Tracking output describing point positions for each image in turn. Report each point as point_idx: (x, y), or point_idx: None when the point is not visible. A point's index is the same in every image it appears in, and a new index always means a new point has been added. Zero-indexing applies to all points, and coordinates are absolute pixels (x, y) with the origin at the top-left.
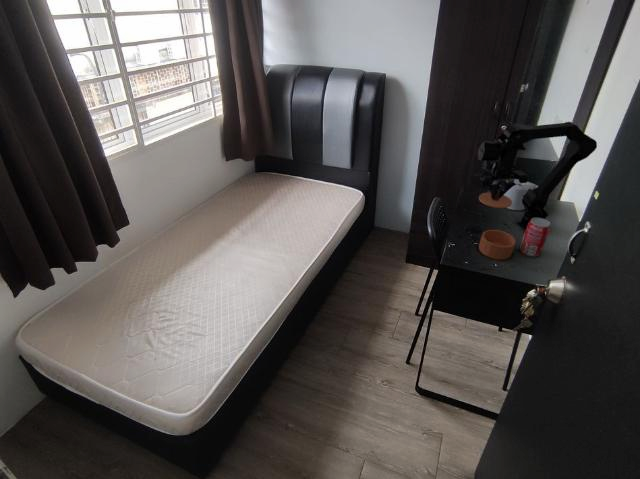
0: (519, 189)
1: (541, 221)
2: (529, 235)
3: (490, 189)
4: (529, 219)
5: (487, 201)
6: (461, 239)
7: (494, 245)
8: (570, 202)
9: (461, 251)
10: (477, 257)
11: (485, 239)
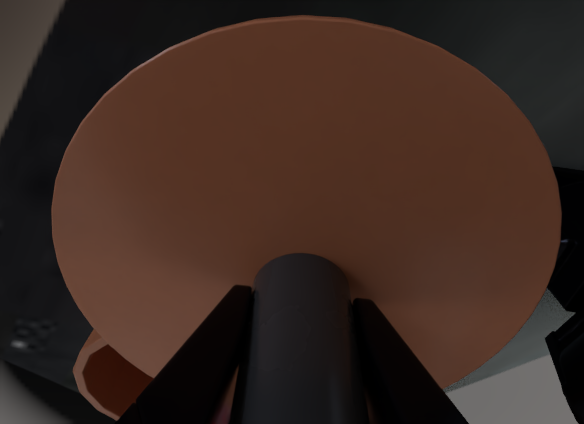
0: None
1: None
2: None
3: (121, 422)
4: (550, 290)
5: (146, 300)
6: (45, 211)
7: (110, 415)
8: None
9: (16, 289)
10: (82, 335)
11: (80, 382)
